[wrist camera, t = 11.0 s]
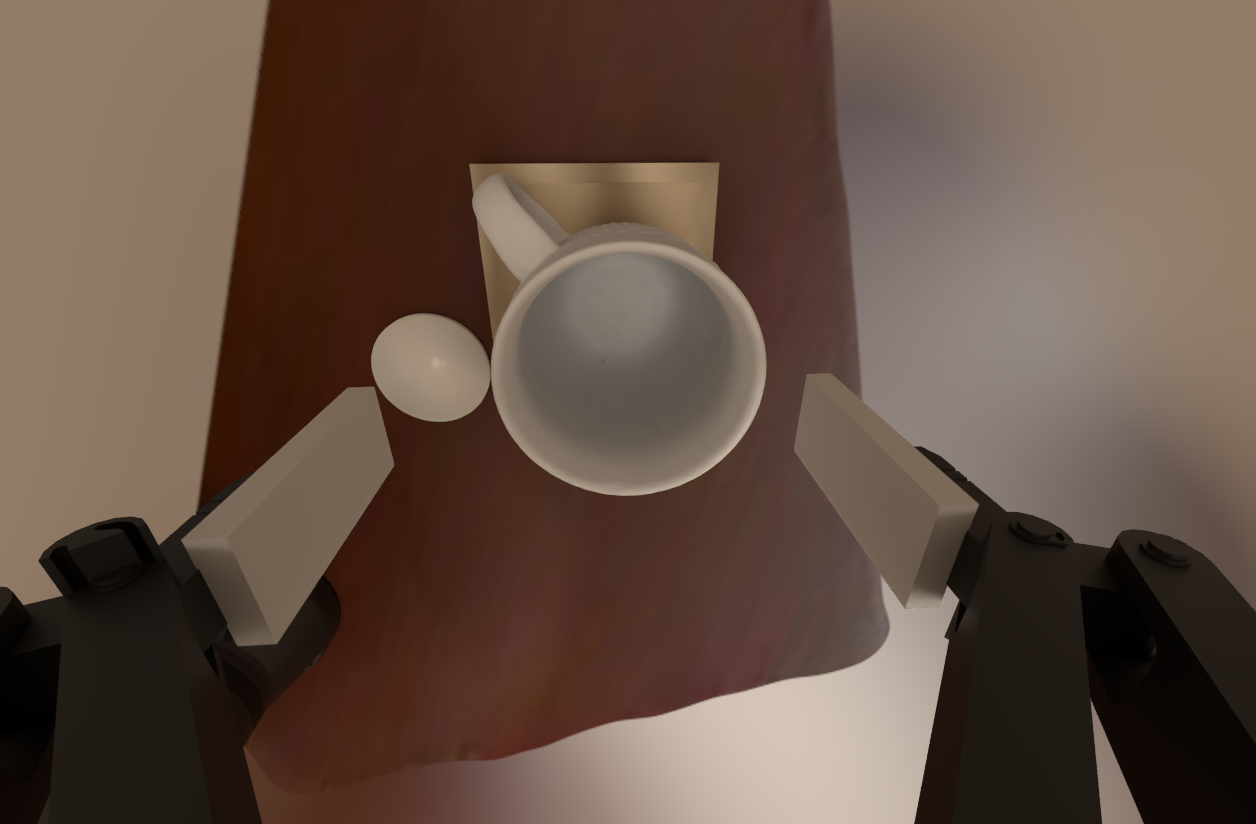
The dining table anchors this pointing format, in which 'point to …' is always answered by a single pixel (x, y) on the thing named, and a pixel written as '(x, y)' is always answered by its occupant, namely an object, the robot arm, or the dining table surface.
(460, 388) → the white oval dome
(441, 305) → the dining table surface
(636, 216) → the base
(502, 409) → the mug
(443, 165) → the dining table surface
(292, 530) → the robot arm
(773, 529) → the dining table surface
